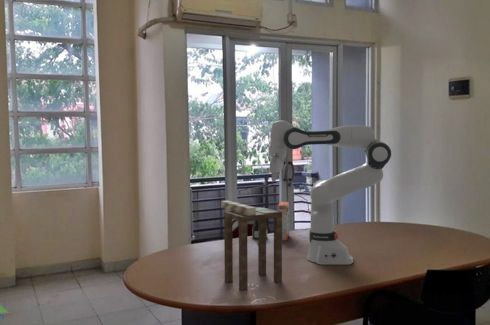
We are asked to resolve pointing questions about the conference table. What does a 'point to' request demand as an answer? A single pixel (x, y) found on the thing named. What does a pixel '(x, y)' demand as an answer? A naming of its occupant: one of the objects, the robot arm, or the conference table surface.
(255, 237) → the ink bottle
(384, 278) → the conference table surface
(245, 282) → the stand
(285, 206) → the cracker box
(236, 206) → the bar
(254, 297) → the conference table surface
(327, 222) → the robot arm
